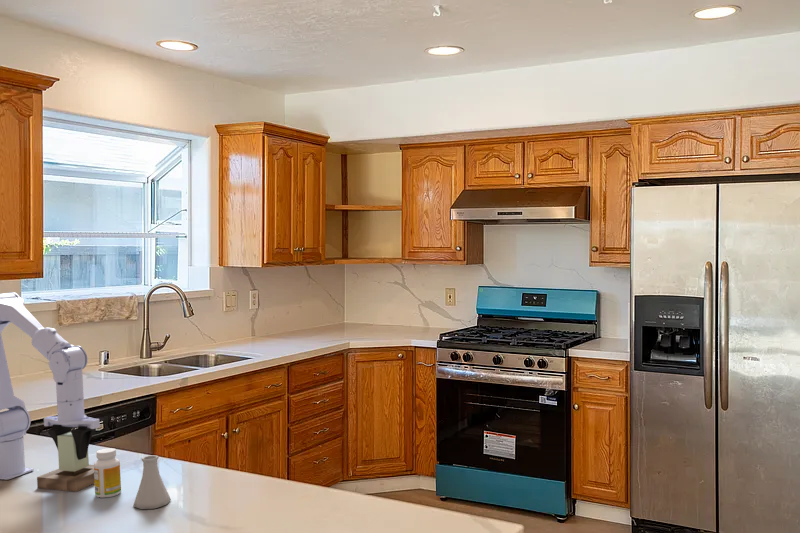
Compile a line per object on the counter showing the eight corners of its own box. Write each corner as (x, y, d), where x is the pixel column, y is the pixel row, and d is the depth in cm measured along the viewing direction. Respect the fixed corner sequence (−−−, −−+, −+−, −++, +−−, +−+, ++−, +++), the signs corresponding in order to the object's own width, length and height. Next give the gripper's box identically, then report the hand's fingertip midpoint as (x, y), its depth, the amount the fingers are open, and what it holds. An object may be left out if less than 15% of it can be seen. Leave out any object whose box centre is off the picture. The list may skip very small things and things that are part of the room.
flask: (177, 499, 163) (175, 453, 162) (155, 511, 156) (153, 463, 155) (148, 497, 165) (146, 451, 165) (126, 508, 158) (124, 461, 158)
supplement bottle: (125, 490, 170) (123, 446, 170) (114, 498, 165) (112, 453, 165) (102, 490, 171) (100, 447, 171) (90, 498, 166) (88, 453, 165)
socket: (37, 487, 174) (36, 477, 174) (73, 473, 185) (72, 463, 184) (75, 491, 170) (75, 480, 170) (110, 476, 181) (109, 466, 181)
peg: (59, 470, 176) (57, 435, 176) (73, 464, 180) (71, 431, 180) (74, 471, 175) (72, 436, 174) (88, 465, 179) (87, 432, 179)
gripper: (107, 397, 178) (110, 454, 179) (58, 395, 183) (61, 451, 184) (85, 403, 171) (88, 463, 172) (35, 401, 176) (38, 459, 177)
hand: (73, 457), depth 177 cm, fingers closed on peg, 4 cm apart
